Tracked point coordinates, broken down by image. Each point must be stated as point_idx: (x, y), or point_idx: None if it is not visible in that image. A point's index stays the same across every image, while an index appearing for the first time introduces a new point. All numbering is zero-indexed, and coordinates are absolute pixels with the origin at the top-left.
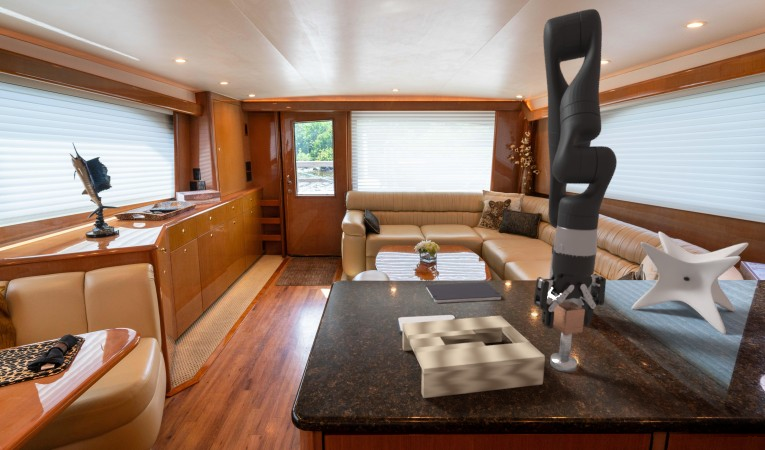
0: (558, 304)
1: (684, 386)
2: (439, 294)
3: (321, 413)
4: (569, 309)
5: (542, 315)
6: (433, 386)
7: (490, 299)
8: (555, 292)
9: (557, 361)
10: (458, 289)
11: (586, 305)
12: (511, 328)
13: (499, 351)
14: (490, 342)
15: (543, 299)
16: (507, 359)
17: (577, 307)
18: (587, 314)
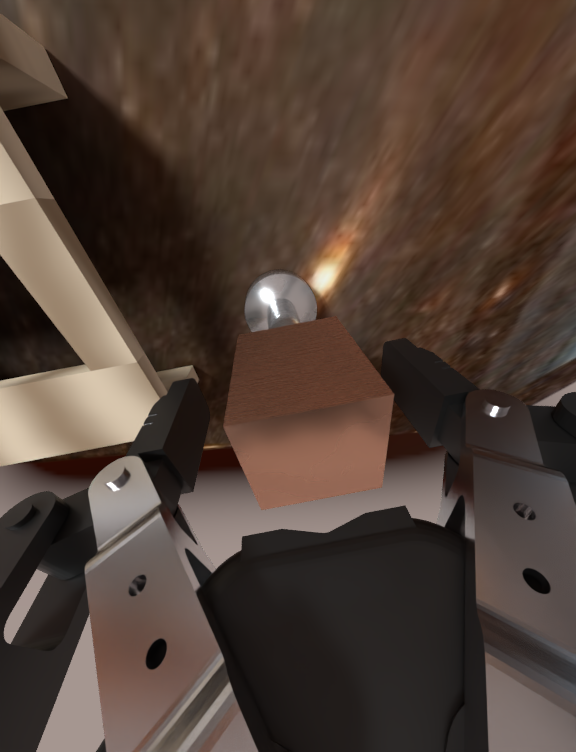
0: (246, 449)
1: (482, 371)
2: None
3: None
4: (287, 496)
5: (142, 429)
6: None
7: None
8: (186, 588)
9: (257, 324)
10: None
11: (449, 433)
12: (37, 233)
13: (28, 421)
14: (5, 110)
15: (47, 639)
16: (64, 452)
17: (356, 473)
18: (409, 415)
